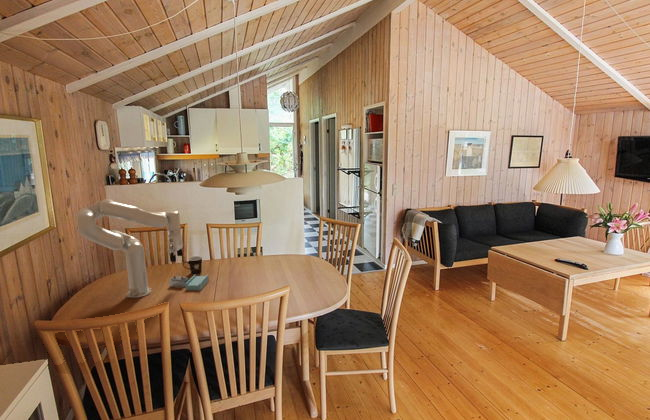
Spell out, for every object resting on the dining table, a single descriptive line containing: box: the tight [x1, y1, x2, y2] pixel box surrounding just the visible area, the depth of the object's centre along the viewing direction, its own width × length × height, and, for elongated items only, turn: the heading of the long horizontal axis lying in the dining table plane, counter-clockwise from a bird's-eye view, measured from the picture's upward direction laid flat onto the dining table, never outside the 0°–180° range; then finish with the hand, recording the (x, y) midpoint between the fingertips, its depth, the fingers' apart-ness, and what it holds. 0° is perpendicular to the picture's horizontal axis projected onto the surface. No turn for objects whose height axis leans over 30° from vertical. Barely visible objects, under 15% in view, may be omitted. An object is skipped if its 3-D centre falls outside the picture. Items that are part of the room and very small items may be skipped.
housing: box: [168, 275, 189, 288], centre depth 221 cm, size 6×9×6 cm, turn 80°
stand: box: [185, 274, 210, 291], centre depth 221 cm, size 14×9×4 cm, turn 178°
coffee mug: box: [182, 255, 203, 275], centre depth 240 cm, size 12×9×10 cm
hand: (176, 258), depth 219 cm, fingers open, 9 cm apart
